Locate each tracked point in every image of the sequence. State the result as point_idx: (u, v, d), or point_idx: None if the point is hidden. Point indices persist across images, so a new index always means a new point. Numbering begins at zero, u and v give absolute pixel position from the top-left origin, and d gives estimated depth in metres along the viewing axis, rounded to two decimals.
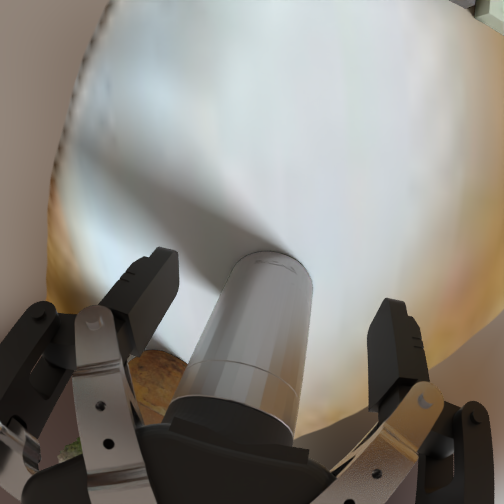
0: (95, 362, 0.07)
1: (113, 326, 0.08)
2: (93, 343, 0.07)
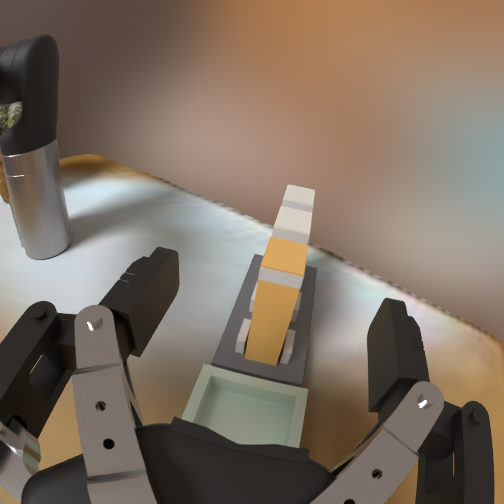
0: (95, 362, 0.07)
1: (113, 326, 0.08)
2: (93, 343, 0.07)
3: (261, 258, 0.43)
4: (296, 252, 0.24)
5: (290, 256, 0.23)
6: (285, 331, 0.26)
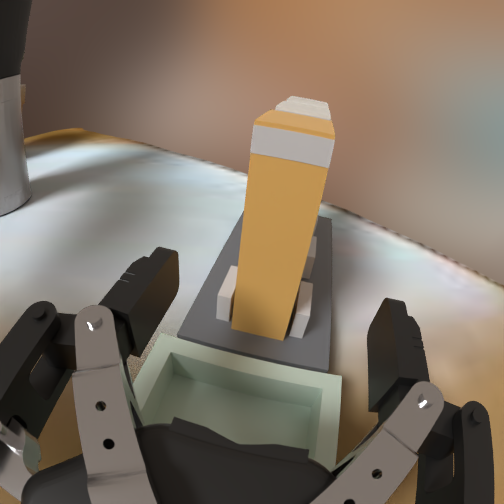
0: (95, 362, 0.07)
1: (113, 326, 0.08)
2: (93, 343, 0.07)
3: None
4: (315, 121, 0.13)
5: (306, 121, 0.13)
6: (301, 267, 0.15)
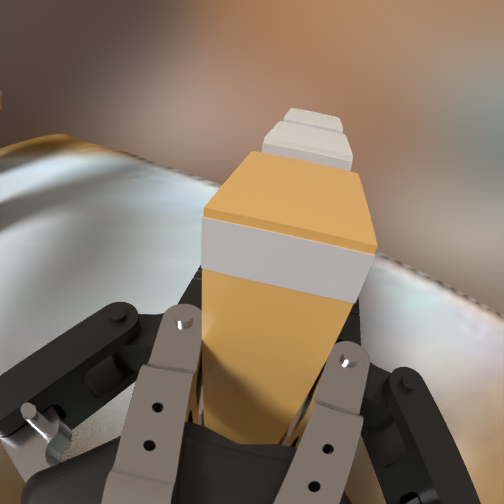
0: (197, 361, 0.07)
1: None
2: (190, 342, 0.08)
3: None
4: (331, 184, 0.07)
5: (315, 191, 0.07)
6: (294, 410, 0.09)
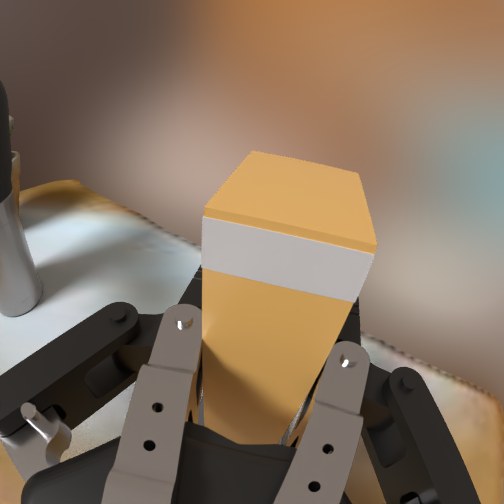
0: (197, 361, 0.07)
1: (201, 331, 0.08)
2: (190, 342, 0.08)
3: None
4: (331, 183, 0.07)
5: (315, 190, 0.07)
6: (294, 409, 0.09)
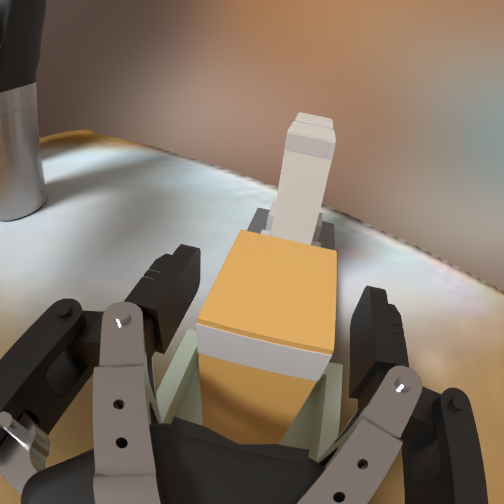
0: (127, 358, 0.07)
1: (141, 325, 0.08)
2: (124, 340, 0.07)
3: (266, 212, 0.35)
4: (308, 272, 0.09)
5: (291, 286, 0.08)
6: (278, 439, 0.10)
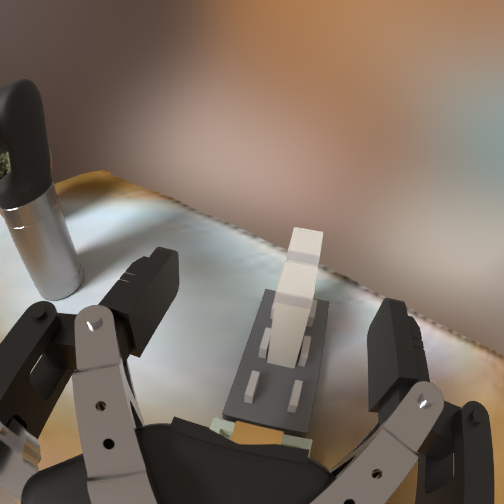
0: (95, 362, 0.07)
1: (113, 326, 0.08)
2: (93, 343, 0.07)
3: (272, 293, 0.42)
4: None
5: None
6: None
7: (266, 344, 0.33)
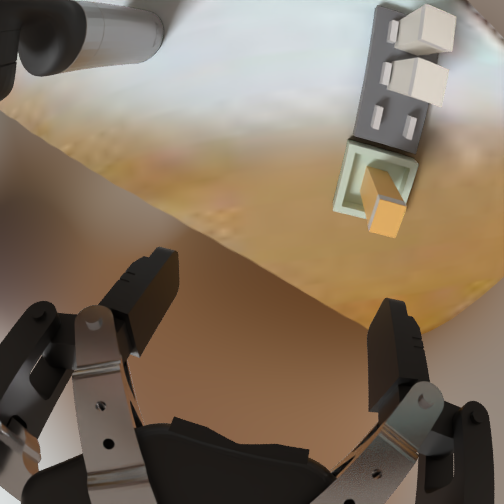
0: (95, 362, 0.07)
1: (113, 326, 0.08)
2: (93, 343, 0.07)
3: (385, 11, 0.26)
4: (395, 216, 0.30)
5: (390, 221, 0.31)
6: None
7: (387, 80, 0.30)
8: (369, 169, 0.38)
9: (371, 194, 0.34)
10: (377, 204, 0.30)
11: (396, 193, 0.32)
